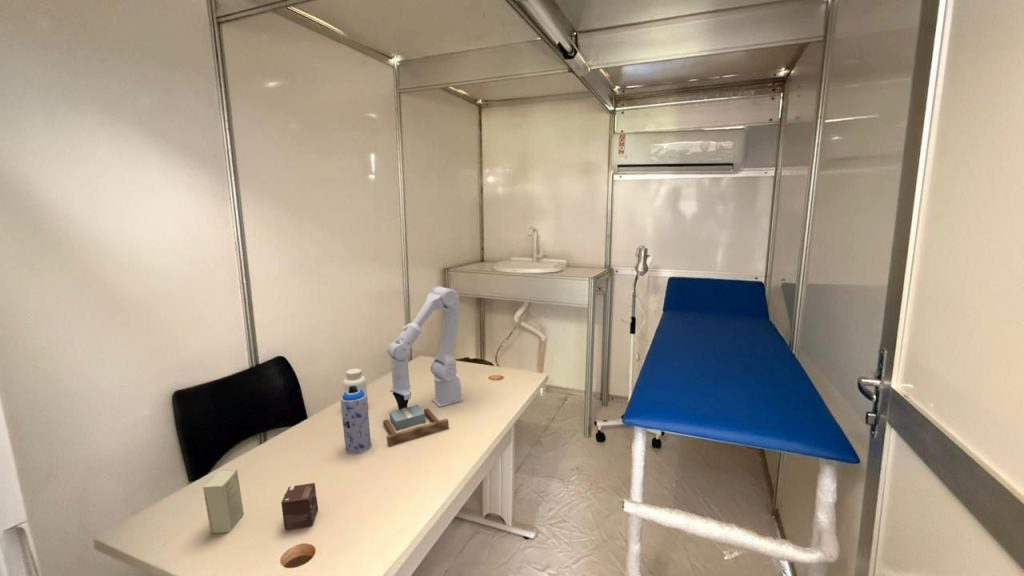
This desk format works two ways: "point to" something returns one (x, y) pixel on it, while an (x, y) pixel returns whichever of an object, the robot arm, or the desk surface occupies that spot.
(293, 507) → the box
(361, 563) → the desk surface
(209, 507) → the skincare box
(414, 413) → the carton
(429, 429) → the stand
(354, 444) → the aerosol can
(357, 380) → the pill bottle
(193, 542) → the desk surface
